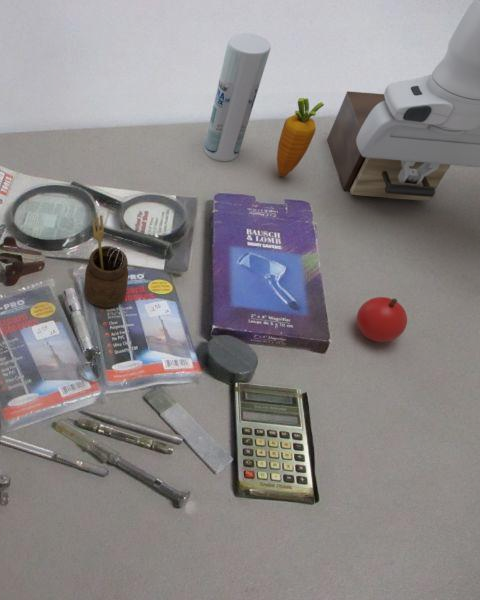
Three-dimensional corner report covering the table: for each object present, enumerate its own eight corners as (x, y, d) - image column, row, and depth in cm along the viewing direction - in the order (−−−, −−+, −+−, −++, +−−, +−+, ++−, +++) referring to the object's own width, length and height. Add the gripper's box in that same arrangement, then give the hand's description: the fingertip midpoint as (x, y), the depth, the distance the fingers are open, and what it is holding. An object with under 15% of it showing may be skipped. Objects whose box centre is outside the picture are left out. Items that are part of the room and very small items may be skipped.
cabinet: (424, 197, 100) (455, 148, 93) (342, 190, 101) (366, 141, 93) (401, 145, 110) (427, 97, 102) (327, 139, 110) (347, 91, 103)
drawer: (436, 220, 95) (462, 181, 89) (357, 213, 96) (378, 174, 90) (405, 151, 107) (427, 113, 101) (335, 146, 107) (352, 107, 101)
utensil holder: (99, 316, 81) (106, 254, 72) (74, 286, 85) (77, 224, 75) (134, 298, 84) (144, 237, 74) (108, 270, 87) (115, 208, 78)
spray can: (201, 139, 109) (226, 31, 93) (236, 141, 109) (267, 33, 93) (204, 161, 105) (231, 52, 89) (241, 163, 105) (274, 54, 89)
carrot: (299, 173, 103) (330, 96, 92) (290, 189, 100) (321, 111, 89) (272, 164, 105) (299, 86, 93) (262, 179, 102) (289, 100, 90)
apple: (388, 317, 83) (412, 283, 78) (399, 353, 79) (425, 319, 74) (345, 314, 83) (366, 279, 78) (354, 348, 79) (377, 315, 74)
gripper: (521, 95, 84) (468, 174, 94) (376, 83, 84) (339, 163, 95) (540, 121, 80) (482, 200, 90) (387, 108, 80) (347, 188, 91)
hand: (407, 181), depth 93 cm, fingers closed
